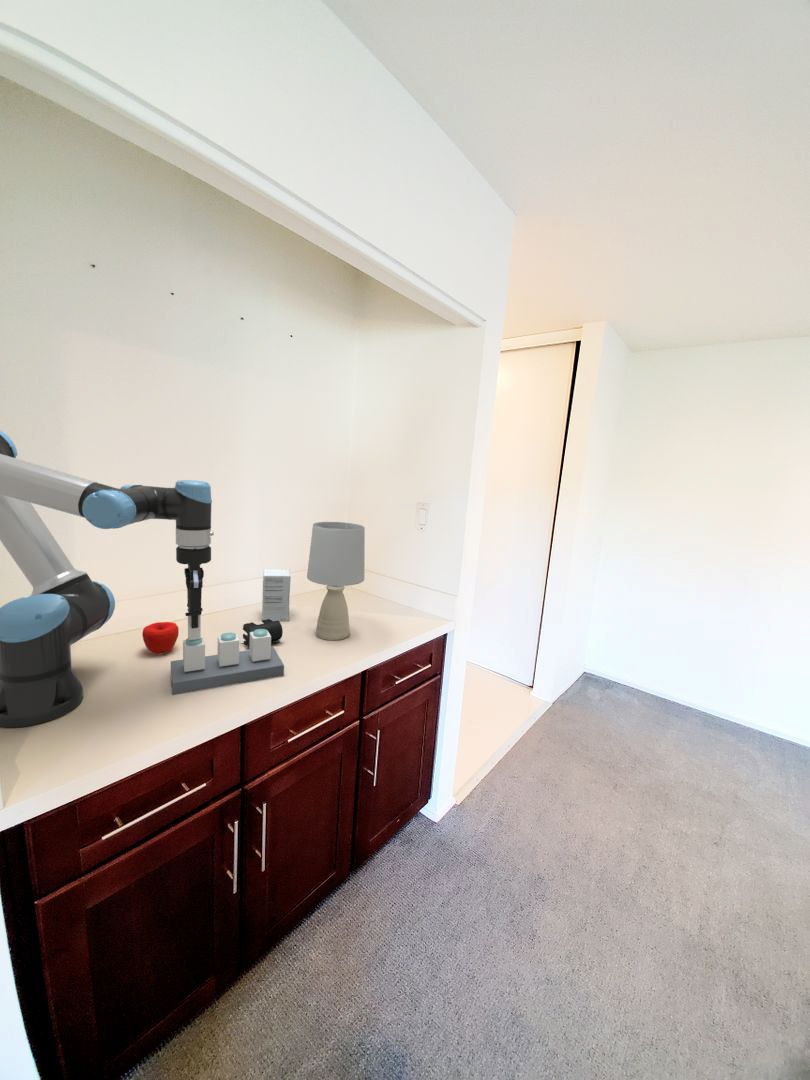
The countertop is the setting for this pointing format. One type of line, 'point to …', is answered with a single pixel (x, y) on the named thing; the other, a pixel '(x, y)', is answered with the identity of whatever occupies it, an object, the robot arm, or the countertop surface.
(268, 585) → the supplement box
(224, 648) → the button mid
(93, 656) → the countertop surface
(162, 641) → the apple
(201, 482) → the robot arm
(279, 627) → the end cap
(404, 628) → the countertop surface
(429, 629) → the countertop surface
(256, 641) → the button far
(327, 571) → the lamp
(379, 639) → the countertop surface
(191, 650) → the button near
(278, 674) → the mount
